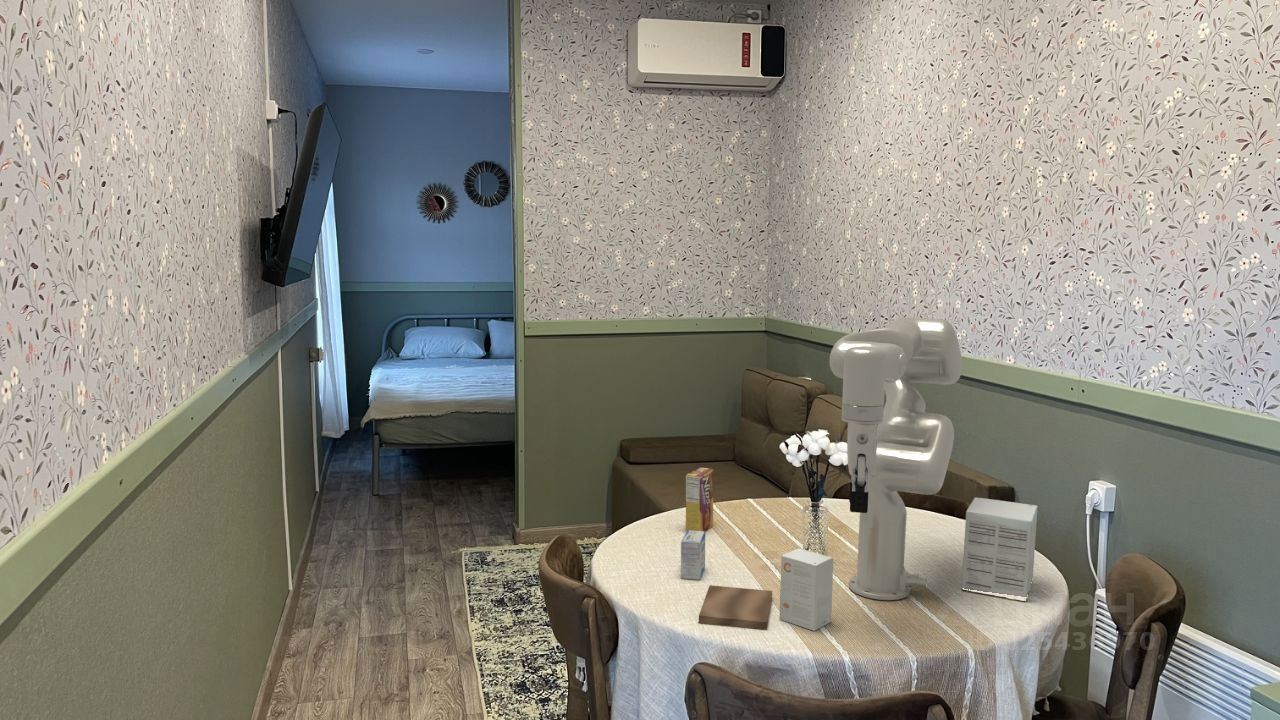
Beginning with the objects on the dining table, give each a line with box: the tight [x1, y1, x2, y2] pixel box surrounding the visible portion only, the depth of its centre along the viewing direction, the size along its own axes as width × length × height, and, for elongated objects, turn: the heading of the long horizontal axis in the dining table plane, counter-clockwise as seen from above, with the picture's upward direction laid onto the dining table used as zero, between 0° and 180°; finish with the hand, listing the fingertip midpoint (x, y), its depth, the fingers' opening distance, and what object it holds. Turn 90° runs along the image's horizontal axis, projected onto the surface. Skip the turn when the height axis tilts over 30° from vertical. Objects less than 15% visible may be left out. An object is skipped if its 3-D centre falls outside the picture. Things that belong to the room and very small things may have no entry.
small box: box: [779, 548, 834, 632], centre depth 174 cm, size 8×6×13 cm
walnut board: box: [698, 584, 773, 630], centre depth 179 cm, size 13×16×2 cm
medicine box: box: [680, 530, 706, 581], centre depth 198 cm, size 8×4×9 cm, turn 168°
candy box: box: [685, 467, 714, 533], centre depth 229 cm, size 9×4×15 cm, turn 152°
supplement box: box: [961, 496, 1038, 597], centre depth 193 cm, size 13×13×18 cm
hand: (858, 506), depth 170 cm, fingers open, 5 cm apart
